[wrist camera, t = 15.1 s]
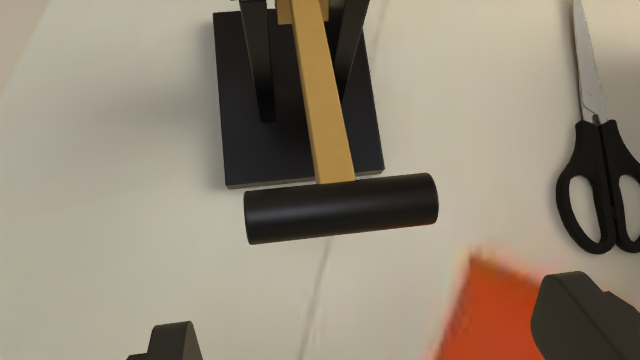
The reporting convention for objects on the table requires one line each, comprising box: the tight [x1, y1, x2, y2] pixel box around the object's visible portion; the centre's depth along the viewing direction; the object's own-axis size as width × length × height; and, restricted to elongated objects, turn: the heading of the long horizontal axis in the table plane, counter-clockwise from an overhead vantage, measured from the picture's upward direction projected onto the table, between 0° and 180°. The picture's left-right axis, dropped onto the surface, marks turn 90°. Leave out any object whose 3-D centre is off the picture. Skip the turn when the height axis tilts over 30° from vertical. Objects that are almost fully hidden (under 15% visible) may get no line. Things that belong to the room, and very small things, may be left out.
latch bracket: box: [213, 0, 385, 189], centre depth 24 cm, size 12×10×14 cm
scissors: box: [556, 0, 640, 254], centre depth 31 cm, size 7×1×20 cm
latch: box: [244, 0, 439, 245], centre depth 16 cm, size 13×6×2 cm, turn 7°
